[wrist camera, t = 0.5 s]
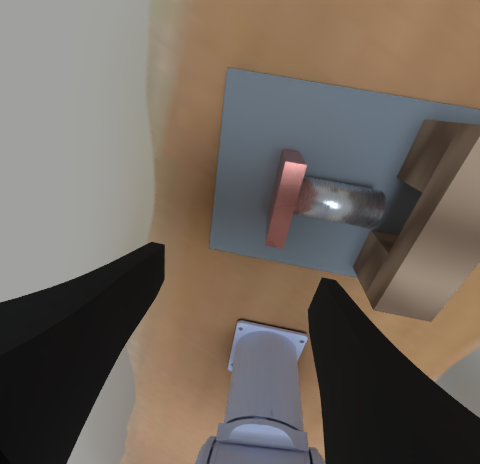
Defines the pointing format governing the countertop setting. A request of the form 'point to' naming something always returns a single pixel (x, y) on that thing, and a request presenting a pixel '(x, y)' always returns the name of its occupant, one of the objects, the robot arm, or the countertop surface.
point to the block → (429, 226)
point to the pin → (317, 200)
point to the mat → (313, 161)
